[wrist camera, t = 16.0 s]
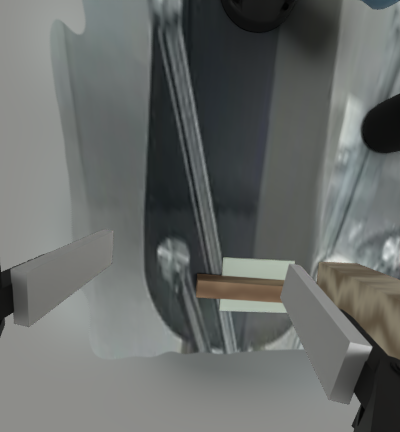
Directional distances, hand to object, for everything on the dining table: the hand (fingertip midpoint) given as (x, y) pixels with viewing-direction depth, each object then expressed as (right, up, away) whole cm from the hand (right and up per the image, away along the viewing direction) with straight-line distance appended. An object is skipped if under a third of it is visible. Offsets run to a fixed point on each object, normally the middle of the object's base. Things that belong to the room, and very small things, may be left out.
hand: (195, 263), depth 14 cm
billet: (+10, -12, +28) cm, 32 cm away
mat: (+13, -12, +29) cm, 34 cm away
